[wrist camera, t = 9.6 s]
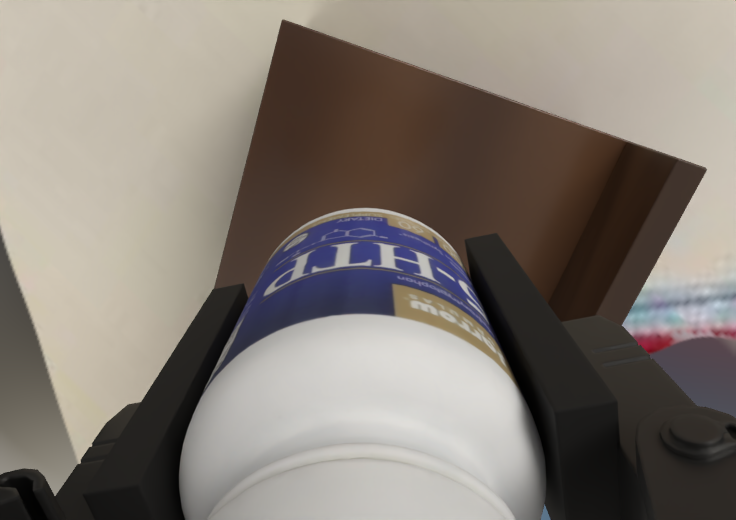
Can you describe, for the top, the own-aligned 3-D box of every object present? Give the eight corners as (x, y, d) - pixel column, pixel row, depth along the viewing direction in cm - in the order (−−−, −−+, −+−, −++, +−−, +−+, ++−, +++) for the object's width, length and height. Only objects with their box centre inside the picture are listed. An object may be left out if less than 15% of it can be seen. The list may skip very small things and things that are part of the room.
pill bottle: (488, 213, 13) (722, 517, 4) (454, 404, 15) (574, 870, 6) (257, 192, 13) (52, 470, 4) (252, 389, 14) (101, 850, 6)
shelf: (239, 265, 33) (176, 375, 22) (303, 27, 29) (264, 12, 18) (485, 338, 35) (541, 473, 24) (582, 125, 31) (708, 168, 19)
